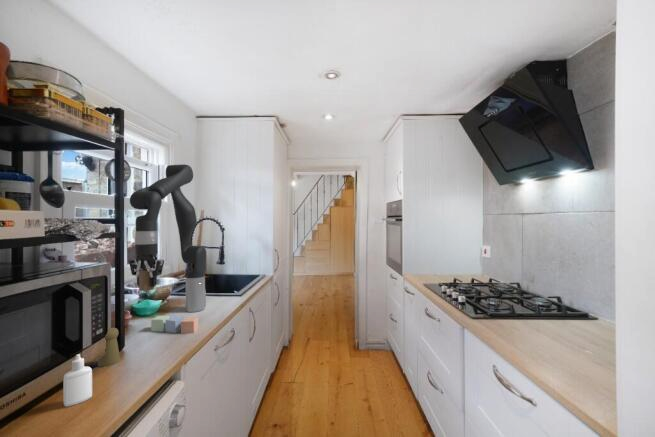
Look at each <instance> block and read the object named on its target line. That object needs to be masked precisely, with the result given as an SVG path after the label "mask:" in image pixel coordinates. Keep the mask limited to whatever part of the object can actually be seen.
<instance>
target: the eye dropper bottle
mask: <svg viewBox="0 0 655 437" xmlns="http://www.w3.org/2000/svg"><path fill="white" fill-rule="evenodd" d="M62 384H63V394H62V395H63V399H62V400H63V406H64V407H72V406H75V405H78V404H81V403H84V402H86V401H88V400H90V399H91V398H92V397H93V370H92V368H91V367H90V366H85V358H83V357H81V354H80V353H79V354H76V355H75V359H73V360H72V361H71V370H69V371H68V372H66V373H65V374H64V375H63V383H62Z"/></svg>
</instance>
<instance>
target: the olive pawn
mask: <svg viewBox="0 0 655 437" xmlns="http://www.w3.org/2000/svg"><path fill="white" fill-rule="evenodd" d="M109 328H110V330H109V331H108V332H107V334H106V336H105V340H106V349H105V352H106V354H105V355H104V356H102V357H101V358H99V357H98V358H99V359H98V358H97V367H98V368H104V367H103V366H106V367H111V366H113V365H116V364H117V363H119V362H120V361H121V357H120V351H119V343H118V339H117V338H118V336H119V334H120V333H119V329H118V328H116V327H109ZM110 365H111V366H110Z"/></svg>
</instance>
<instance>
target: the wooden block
mask: <svg viewBox="0 0 655 437" xmlns="http://www.w3.org/2000/svg"><path fill="white" fill-rule="evenodd" d="M153 274H154V271H153ZM150 278H151V277H150V274H149V272H148V271H147V269H141V270H140V271H139V287H138V290H139V291H141V292H150V291H154V290H155V287H150Z"/></svg>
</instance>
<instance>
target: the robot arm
mask: <svg viewBox="0 0 655 437" xmlns="http://www.w3.org/2000/svg"><path fill="white" fill-rule="evenodd" d="M193 179H194V172H193V169H192V167H191V166H190V165H189V164H170V165H169V164H168V165H167V166H166V168H165V177H164V178H161V179H159V180H156V181H155V182H154V183H152V184H150V185H149V186H145V187H142V188H139V189H137V190H135V191H134V192H133V193H132V194H130V197H129V204H130V206H131V207H132V208H133V209H135V210H146V213H145V214H143V215H138V216H136V217H135V234H134V256H136V257H135V259H130V260H129V261H128V264H129V268H130V272H131V273H130V274H131V276H135V277H136V285H137V287H138V288H139V271H140V270H141V269H147V271H148V272H149V274H150V277H151V278H150V287H154V288H155V287H156V286H157V283H158V278H157V277H158V276H161V275H162V274H163V273H162V272H163V269H164V264H165V260H164V259H158V256H157V255H158V253H159V252H158V250H159V249H158V247H159V246H158V243H159V242H158V240H159V238H158V232H157V230H158V225H157V224H158V222H157V221H158V219H159V218H158V217H159V213H160V210H161V206H162V203H163V201H162V200H164V199H165V198H167V196H168V195H170V196H171V198H172V204H173V210H174V215H175V220H176V225H177V229H178V237H179V245H180V253H181V254H180V255H181V259H182V261H183V263H185V264H189V265H190V264H193V265H194V267H193V268H191V269H189V270H187V271H185V312H189V313H196V312H197V313H198V312H202V311H203V310H205V309H206V307H207V305H206V304H207V301H206V300H207V297H206V296H207V292H206V291H207V290H206V271H207V249H206V248H205V247H204V246H203V245H193V244H192V234H193V231H194V230H195V229H196V228H195V227H196V226H197V225H196V224H197V222H198V221H197V213H196V209H195V207H194V205H193V204H192V203H191V202H190V200H188V199H187V197H186V196H185V195H184V193H183V192H182V189H181V188H182V187H183V186H185V185H187V184H190V183H191V182H192V181H193ZM153 271H154V274H153Z"/></svg>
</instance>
